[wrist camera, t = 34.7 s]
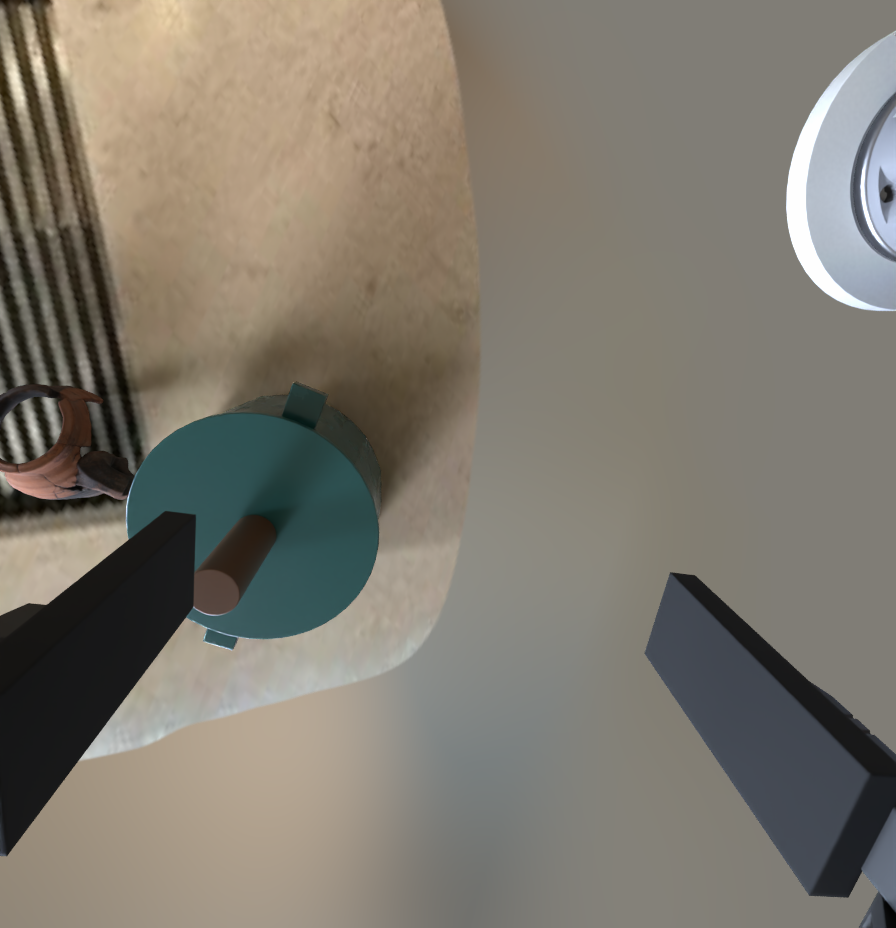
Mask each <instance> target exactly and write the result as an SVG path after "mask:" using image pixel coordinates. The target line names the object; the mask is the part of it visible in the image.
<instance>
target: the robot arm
mask: <svg viewBox="0 0 896 928" xmlns="http://www.w3.org/2000/svg"><path fill="white" fill-rule="evenodd" d="M850 201H851V208H852V214H853V217H854V221H855V223H856V226H857V228H858V231H859V232H860V234H861V236H862V238H863V239H864V240H865V242H866V243H867V244H868V245H869V246H870V248H871V249H872V250H874V251H875V252H876V253H877V254H879V255H880V256H882V257H883V258H885V259H887V260H889V261H892V262H895V263H896V92H895V93H894V94H893V95H892V96H891V97H890V98H889V99H888V100H887V101H886V102H885V103H884V105H883V106H882V107H881V108H880V109H879V111H878V112H877V114H876V115H875V116H874V118H873V119H872V121H871V123H870V124H869V126H868V128H867V130H866V131H865V133H864V135H863V137H862V140H861V142H860V144H859V147H858V150H857V153H856V156H855V159H854V163H853V168H852V173H851V182H850ZM195 537H196V515H195V514H187V513H179V512H171V511H164V512H163V513H162V514H161V515H159V516H158V517H157V518H156V519H154V520H153V521H152V522H151V523H149V524H148V525H147V526H146V527H144V528H143V529H142V530H140V531H139V532H138V533H137V534H135V535H134V536H133V537H132V538H130V539H129V540H128V541H127V542H125V543H124V544H123V545H122V546H120V547H119V548H118V549H117V550H115V551H114V552H113V553H112V554H110V555H109V556H108V557H106V558H105V559H104V560H103V561H101V562H100V563H99V564H98V565H96V566H95V567H94V568H93V569H91V570H90V571H89V572H88V573H86V574H85V575H84V576H83V577H81V578H80V579H79V580H78V581H76V582H75V583H74V584H72V585H71V586H70V587H69V588H67V589H66V590H65V591H64V592H62V593H61V594H60V595H59V596H57V597H56V598H55V599H54V600H52V601H51V602H50V603H49V604H47V605H41V604H31V603H28V604H26V605H24V606H21V607H19V608H17V609H14V610H12V611H10V612H8V613H5V614H3V615H1V616H0V856H7V855H8V854H9V853H10V851H11V850H12V848H13V847H14V846H15V845H16V843H17V842H18V841H19V839H20V838H21V837H22V835H23V834H24V833H25V831H26V830H27V828H28V827H29V826H30V825H31V823H32V822H33V821H34V819H35V818H36V817H37V815H38V814H39V813H40V811H41V810H42V809H43V807H44V806H45V804H46V803H47V802H48V801H49V799H50V798H51V797H52V795H53V794H54V793H55V791H56V790H57V789H58V787H59V786H60V785H61V783H62V782H63V780H64V779H65V778H66V777H67V775H68V774H69V773H70V771H71V770H72V768H73V767H74V766H75V765H76V763H77V762H78V761H79V759H80V758H81V757H82V755H83V754H84V753H85V751H86V750H87V749H88V747H89V746H90V745H91V743H92V742H93V741H94V739H95V738H96V737H97V735H98V734H99V733H100V731H101V730H102V729H103V727H104V726H105V725H106V723H107V722H108V721H109V719H110V718H111V717H112V715H113V714H114V713H115V711H116V710H117V709H118V707H119V706H120V705H121V703H122V702H123V701H124V699H125V698H126V697H127V695H128V694H129V693H130V691H131V690H132V689H133V687H134V686H135V685H136V683H137V682H138V681H139V679H140V678H141V677H142V675H143V674H144V673H145V671H146V670H147V669H148V667H149V666H150V665H151V663H152V662H153V661H154V659H155V658H156V657H157V655H158V654H159V653H160V651H161V650H162V649H163V647H164V646H165V645H166V643H167V642H168V641H169V639H170V638H171V637H172V635H173V634H174V633H175V631H176V630H177V629H178V627H179V626H180V625H181V623H182V622H183V621H184V619H185V618H186V617H187V615H188V614H189V613H190V611H191V610H192V608H193V605H194V571H195ZM645 655H646V656H647V658H648V659H649V661H650V662H651V664H652V665H653V667H654V668H655V670H656V671H657V673H658V674H659V676H660V677H661V679H662V680H663V681H664V683H665V684H666V686H667V687H668V689H669V690H670V692H671V693H672V695H673V696H674V698H675V699H676V700H677V702H678V703H679V705H680V706H681V708H682V709H683V711H684V712H685V714H686V715H687V717H688V718H689V720H690V721H691V722H692V724H693V725H694V727H695V728H696V730H697V731H698V733H699V734H700V736H701V737H702V739H703V740H704V742H705V743H706V745H707V746H708V748H709V749H710V750H711V752H712V753H713V755H714V756H715V758H716V759H717V761H718V762H719V764H720V765H721V766H722V768H723V770H724V771H725V772H726V774H727V775H728V776H729V778H730V780H731V781H732V783H733V784H734V786H735V787H736V789H737V790H738V792H739V793H740V794H741V796H742V797H743V799H744V800H745V802H746V803H747V805H748V806H749V807H750V809H751V810H752V812H753V814H754V815H755V816H756V818H757V819H758V821H759V822H760V824H761V825H762V827H763V828H764V830H765V831H766V833H767V834H768V835H769V837H770V839H771V840H772V841H773V843H774V844H775V846H776V847H777V849H778V850H779V852H780V853H781V855H782V856H783V858H784V859H785V861H786V862H787V864H788V865H789V866H790V868H791V869H792V871H793V872H794V874H795V875H796V877H797V878H798V880H799V881H800V883H801V884H802V886H803V887H804V888H805V890H806V891H807V893H808V894H809V896H827V897H849V895H850V893H851V892H852V890H853V888H854V886H855V884H856V882H857V880H858V878H859V876H860V874H861V872H862V871H863V873H864V874H865V875H866V876H867V878H868V879H869V880H870V881H871V883H872V884H873V885H874V886H875V888H876V889H877V890H878V893H877V895H876V897H875V899H874V901H873V902H872V904H871V906H870V908H869V910H868V912H867V913H866V915H865V917H864V919H863V921H862V922H861V924H860V926H859V928H896V754H895V753H894V752H892V751H891V750H890V749H889V748H888V747H887V746H886V745H885V744H884V743H883V742H881V741H880V740H879V739H878V738H877V737H876V736H875V735H871V734H870V730H868V729H867V728H866V727H865V726H864V725H863V724H862V723H861V722H860V721H859V720H857V719H854V718H853V715H852V714H851V713H850V712H849V711H848V710H846V709H845V708H844V707H843V706H842V705H841V704H840V703H839V702H838V701H837V700H835V699H834V698H833V697H832V696H831V695H829V694H828V693H826V692H825V691H823V690H822V689H820V688H819V687H817V686H816V685H814V684H813V683H811V682H810V681H808V680H807V679H806V678H805V677H804V676H803V675H802V674H801V673H800V672H799V671H797V670H796V669H795V668H794V667H793V666H792V665H791V664H790V663H789V662H788V661H787V660H786V659H784V658H783V657H782V656H781V655H780V654H779V653H778V652H777V651H776V650H775V649H774V648H773V647H771V646H770V645H769V644H768V643H767V642H766V641H765V640H764V639H763V638H762V637H761V636H760V635H759V634H757V632H755V631H754V630H753V629H752V628H751V627H750V626H749V625H748V624H747V623H746V622H745V621H743V619H741V618H740V617H739V616H738V615H737V614H736V613H735V612H734V611H733V610H732V609H730V608H729V606H727V605H726V604H725V603H724V602H723V601H722V600H721V599H720V598H719V597H718V596H717V595H716V594H715V593H713V592H712V591H711V590H710V589H709V588H708V587H707V586H706V585H705V584H704V583H703V582H702V581H700V580H699V579H698V578H697V577H696V576H695V575H687V574H679V573H670V575H669V578H668V581H667V584H666V587H665V591H664V594H663V597H662V600H661V603H660V606H659V609H658V613H657V616H656V619H655V622H654V625H653V628H652V632H651V635H650V638H649V641H648V644H647V647H646V651H645Z"/></svg>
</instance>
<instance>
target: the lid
mask: <svg viewBox="0 0 896 928" xmlns="http://www.w3.org/2000/svg"><path fill="white" fill-rule="evenodd" d="M164 511H171V512H179V513H187V514H195V515H196V537H195V571H194V605H193V608H192V610H191V611H190V613H189V614H188V615H187V618H188V619H190V620H191V621H193V622H195V623H197V624H199V625H201V626H203V627H205V628H208V629H211V630H214V631H216V632H219V633H223V634H227V635H231V636H235V637H242V638H249V639H274V638H283V637H288V636H293V635H297V634H300V633H304V632H307V631H310V630H312V629H314V628H316V627H319V626H321V625H323V624H325V623H326V622H328V621H329V620H331V619H333V618H334V617H336V616H337V615H338V614H339V613H341V612H342V611H343V610H344V609H346V608H347V607H348V606H349V605H350V604H351V603H352V601H353V600H354V599H355V598H356V597H357V596H358V594H359V593H360V592H361V590H362V589H363V587H364V586H365V584H366V582H367V580H368V578H369V576H370V574H371V572H372V569H373V566H374V563H375V560H376V555H377V550H378V544H379V523H378V514H377V510H376V506H375V502H374V499H373V496H372V494H371V491H370V489H369V486H368V485H367V483H366V481H365V479H364V477H363V476H362V474H361V472H360V471H359V470H358V468H357V467H356V466H355V464H354V463H353V462H352V460H351V459H350V458H349V457H348V456H347V455H346V454H345V453H344V452H343V451H342V450H341V449H340V448H339V447H338V446H337V445H335V444H334V443H333V442H332V441H330V440H329V439H328V438H327V437H325V436H323V435H322V434H320V433H319V432H317V431H315V430H314V429H312V428H310V427H308V426H306V425H303V424H301V423H299V422H297V421H294V420H291V419H288V418H285V417H282V416H278V415H272V414H267V413H261V412H246V411H244V412H228V413H222V414H217V415H212V416H209V417H206V418H203V419H200V420H197V421H194V422H192V423H190V424H188V425H186V426H184V427H182V428H180V429H178V430H176V431H175V432H173V433H172V434H171V435H169V436H168V437H166V438H165V439H164V440H162V441H161V442H160V443H159V444H158V445H157V446H156V447H155V448H154V449H153V450H152V451H151V452H150V454H149V455H148V456H147V457H146V459H145V460H144V461H143V463H142V465H141V466H140V468H139V470H138V472H137V473H136V475H135V478H134V480H133V483H132V486H131V489H130V492H129V497H128V502H127V514H126V523H127V533H128V538H129V539H130V538H132V537H133V536H134V535H135V534H137V533H138V532H139V531H140V530H142V529H143V528H144V527H146V526H147V525H148V524H149V523H151V522H152V521H153V520H154V519H156V518H157V517H158V516H159V515H161V514H162V513H163V512H164Z"/></svg>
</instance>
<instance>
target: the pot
mask: <svg viewBox="0 0 896 928" xmlns="http://www.w3.org/2000/svg"><path fill="white" fill-rule="evenodd" d="M327 397H328V394H326V393H324V392H321V391H319V390H316V389H314V388H311V387H309V386H306V385H304V384H301V383H299V382H294V383H293V384H292V387H291V390H290V393H289V395H273V396H261V397H259V398H256V399H254V400H251V401H249V402H246V403H244V404H242V405H239V406H237V407H234V408H232V409H230V410H228V411H226V412H224V413H228V412H244V411H246V412H261V413H267V414H272V415H278V416H282V417H285V418H288V419H291V420H294V421H297V422H299V423H301V424H303V425H306V426H308V427H310V428H312V429H314V430H315V431H317V432H319V433H320V434H322V435H323V436H325V437H327V438H328V439H329V440H330V441H332V442H333V443H334V444H335V445H337V446H338V447H339V448H340V449H341V450H342V451H343V452H344V453H345V454H346V455H347V456H348V457H349V458H350V459H351V460H352V462H353V463H354V464H355V466H356V467H357V468H358V470H359V471H360V472H361V474H362V476H363V477H364V479H365V481H366V483H367V485H368V486H369V489H370V491H371V494H372V496H373V499H374V502H375V506H376V510H377V514H378V519H379V513H380V507H381V469H380V466H379V464H378V461H377V459H376V456H375V453H374V451H373V449H372V447H371V445H370V443H369V442H368V440H367V438H366V436H365V435H364V434H363V433H362V432H361V430H360V429H359V428H358V427H357V426H356V425H355V424H354V423H353V422H352V421H351V420H349V419H348V418H347V417H346V416H345V415H343V414H342V413H341V412H339V411H338V410H336V409H334V408H332V407H330V406H328V405H326V404H325V403H326V400H327ZM238 638H239V637H235V636H231V635H227V634H223V633H219V632H216V631H214V630H211V629H208V628H207V631H206V633H205V636H204V639H203V641H204V642H207V643H210V644H214V645H217V646H220V647H223V648H227V649H230V650H233V649H234V647H235V645H236V643H237V641H238Z"/></svg>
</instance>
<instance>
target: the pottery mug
mask: <svg viewBox="0 0 896 928" xmlns="http://www.w3.org/2000/svg"><path fill="white" fill-rule="evenodd" d="M37 396H38V397H48V398H60V399H61V401H60V402H59V403H58V405H59V407H60V410H61V412H62V416H63V426H62V430H61V433H60V436H59V438H58V440H57V443H56V444H55V445H54V446H53V447H52V448H51V449H50V450H49V451H48V452H46V453H45V454H44V455H42V456H41V457H39V458H37V459H35V460H33V461H30V462H27V463H21V464H13V463H8V462H6V461H4V460H2V459H1V458H0V471H2V472H5V477H6V480H7V481H8V482H9V484H10V485H11V486H12V487H14V488H16V489H17V490H19V491H21V492H23V493H25V494H28V495H32V496H36V497H38V498H44V499H52V500H54V499H70V498H72V499H74V498H81V497H92V496H97V495H100V494H103V493H105V494H108V495H110V496H112V497H114V498H116V499H125V498H127V497H129V492H130V489H131V486H132V483H133V480H134V478H135V476H134V475H133V474H132V473H131V472H130V471H129V470H128V460H127V458H121V457H116V456H115V455H113V454H109V453H108V452H106V451H92V452H88V453H86V454H85V455H84V456H83V457H81V456H80V448H81V447H90V446H91V423H90V418H89V411H88V408H87V405H86V403H85V402H94V403H98V404H101V403H102V402H103V399H101V398H100V397H98V396H97V395H95V394H93V393H90V392H88V391H85V390H83V389H78V388H73V387H71V386H47V385H40V384H34V385H23V386H18V387H16V388H13V389H11V390H9V391H8V392H7V393H3V394H1V395H0V429H1V422H2V420H3V419H4V417H5V416H6V414H8V413H9V412H10V411H11V410H12V409H13V408H14V407H15V406H16V405H17V404H18V403H20V402H22V401H24V400H26V399H29V398H32V397H37ZM75 485H80V486H81V487H78V486H75Z"/></svg>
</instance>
